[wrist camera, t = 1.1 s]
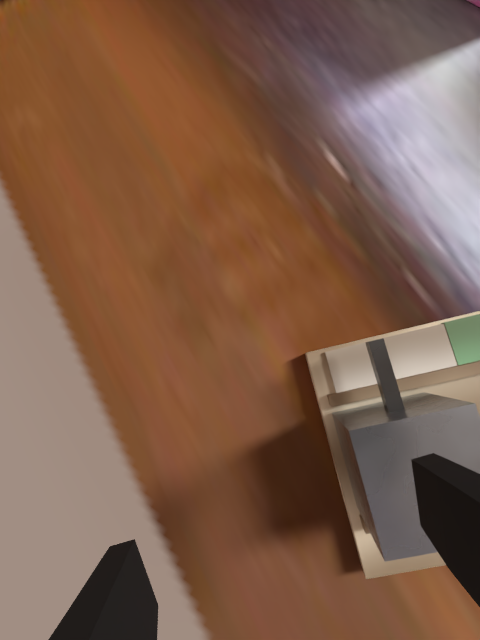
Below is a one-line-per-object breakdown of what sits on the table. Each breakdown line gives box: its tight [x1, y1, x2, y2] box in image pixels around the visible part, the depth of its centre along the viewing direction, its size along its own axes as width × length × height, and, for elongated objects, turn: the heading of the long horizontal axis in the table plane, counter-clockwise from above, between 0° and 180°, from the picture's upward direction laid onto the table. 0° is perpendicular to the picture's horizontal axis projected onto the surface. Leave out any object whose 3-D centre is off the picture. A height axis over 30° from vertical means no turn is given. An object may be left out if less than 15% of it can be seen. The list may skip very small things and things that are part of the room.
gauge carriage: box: [332, 338, 480, 562], centre depth 16 cm, size 8×5×5 cm, turn 13°
